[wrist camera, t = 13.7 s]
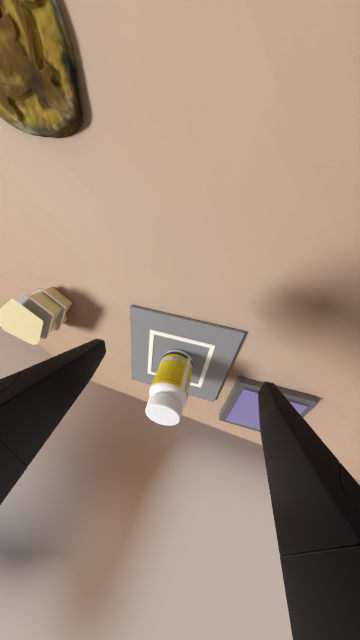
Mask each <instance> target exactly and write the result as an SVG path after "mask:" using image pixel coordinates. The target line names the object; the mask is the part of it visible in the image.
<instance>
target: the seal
mask: <svg viewBox="0 0 360 640" xmlns="http://www.w3.org/2000/svg"><path fill="white" fill-rule="evenodd" d="M76 73H77V72H76V61H75V57H74V53H73V49H72V46H71V42H70V39H69V35H68V32H67V29H66V26H65V23H64V20H63V17H62V15H61V12H60V9H59V6H58V4H57V1H56V0H0V117H1V118H2V119H3V120H5V121H6V122H8V123H9V124H11V125H12V126H14V127H16V128H17V129H19V130H21V131H23V132H25V133H28V134H31V135H39V136H43V137H57V138H58V137H62V136H67V135H70V134H72V133H73V132H75V131H76V130H77V129H78V127H79V126H80V125H81V123H82V112H81V108H80V104H79V97H78V91H77V87H76V84H75V76H76Z"/></svg>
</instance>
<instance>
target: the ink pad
mask: <svg viewBox="0 0 360 640" xmlns="http://www.w3.org/2000/svg"><path fill="white" fill-rule="evenodd" d="M263 384H264V383H262V382H258V381H255V380H251V379H247V378H243V377H238V379H237V381H236V383H235V385H234V387H233V389H232V391H231V393H230V395H229V396H228V398H227V400H226V402H225V404H224V406H223V408H222V410H221V412H220V414H219V420H221V421H224V422H228V423H231V424H235V425H238V426H242V427H245V428H249V429H252V430H256V431H259V432H261V431H260V423H259V404H258V392H259V390H260V388H261V387H262V385H263ZM277 388H278V389H279V390H280V391H281V392H282V394H283V395H284V396H285V397H286V398H287V399H288V401H289V402H290V403H291V404H292V405H293V407H294V408H295V409H296V410H297V411H298V413H299V414H300V415H301V416H302V417H304V416H305V415H306V414H307V413H308V412H309V411H310V410H311V409H313V408H314V407H315V406H316V405H317V404H318V403H319V402H318V400H317V399H316V397H315V396H312V395H308V394H305V393H301V392H297V391H293V390H289V389H285V388H281V387H278V386H277Z"/></svg>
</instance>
